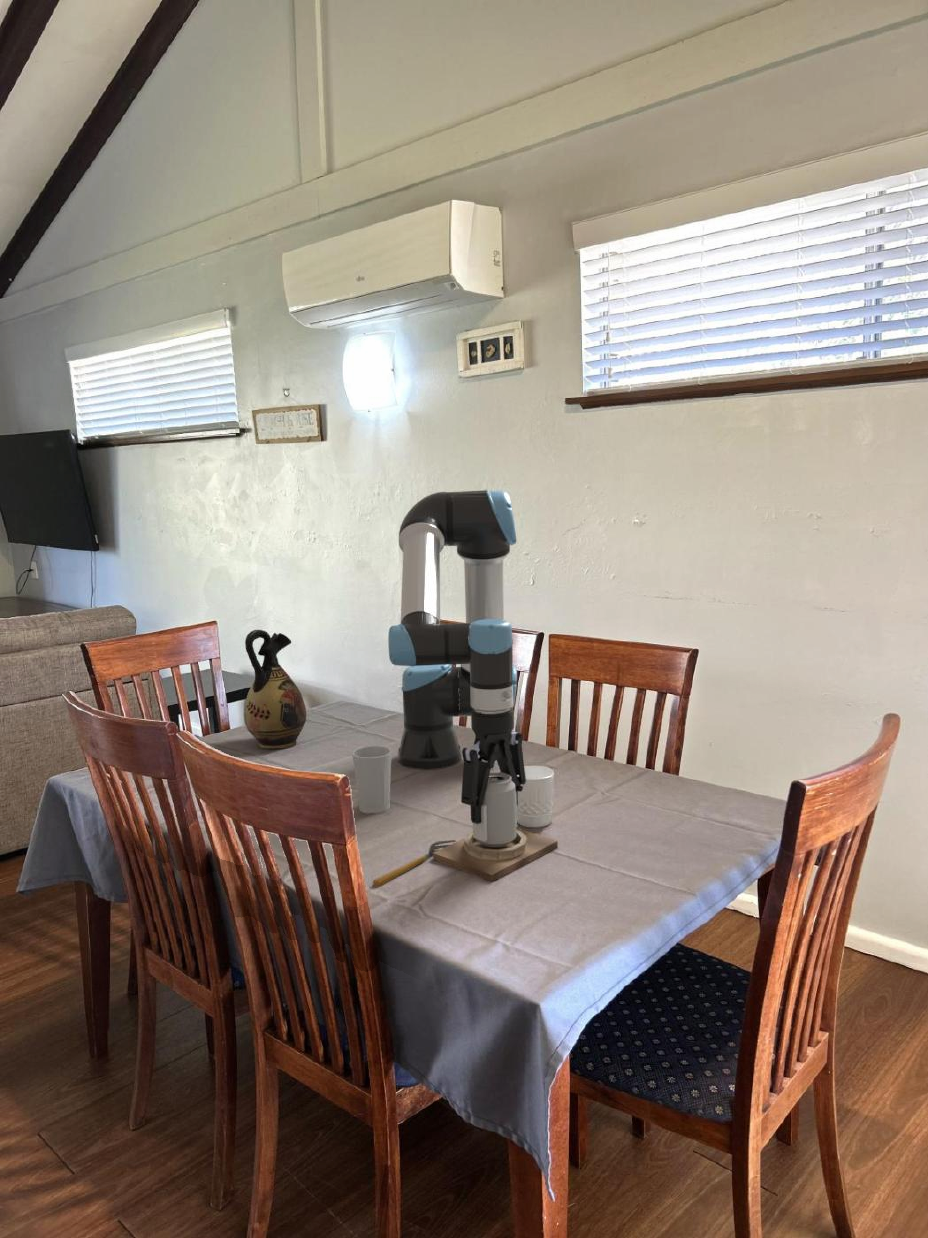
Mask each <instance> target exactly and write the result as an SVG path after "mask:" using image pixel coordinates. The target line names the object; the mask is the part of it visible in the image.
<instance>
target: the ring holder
mask: <svg viewBox="0 0 928 1238" xmlns="http://www.w3.org/2000/svg"><path fill="white" fill-rule="evenodd" d="M558 844H559V843H558V840H555V839H553V838H549V837H546V836H543V835H540V834H537V833H533V832H530V831H528V830H524V829H523V828H522V829H521V828H519V827H516V838H515V839H514V840H513V841H512V842H511V843H510V844H508V845H506V846H502V847H489V846H485V845H483V844H481V843H480V842H479V841H478V840H477V839H476V838H473V831H471V832H469V833H467V834H466V836H465V837H464V838H462V839H459V840H458V841H457V840H456V841H455V842H452V843H451V845H449V846H447V847H444V848H440V850H438V849H437V850H438V851H436V852H434V853H432V858H433V860H435V861H437V862H440V863H442V864H445V865H448V866H451V867H454V868H456V869H458V870H461V871H464V872H465V873H468V874H471V875H474V876H476V877H479V878H482V879H484V880H487V881H490V882H494V881H496V880H499V879H500V878H502V877H504V876H506V875H508V874H510V873H511V872H513V871H515V870H517V869H519V868H521V867H523V866H524V865H527V864H528V863H531V862H532V861H534V860H537V859H538V858H540V857H542V856H544V855H546V854H548V853H549V852H551V851H553V850H555V849H558Z"/></svg>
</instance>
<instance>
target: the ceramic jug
mask: <svg viewBox="0 0 928 1238" xmlns="http://www.w3.org/2000/svg"><path fill="white" fill-rule="evenodd" d="M245 637H246V638H245V640H244V647H245V651H246V653H247V655H248V658H249V661H250V663H251V667H252V668H253V670H254V680H253V683H252V684H251V686H250V689H249V690H248V693H247V696H246V699H245V705H244V710H243V711H244V713H243V715H244V717H243V718H244V724H245V727H246V729H247V731H248V732H249V733H250V735H252V736H253V737H254V739H255V740H256V741H257V742H258V745H259V747H261V748H262V749H285V748H289V747H295V746H296V745H297V744H296V743H298V742H297V739H298V738H299V736H300V734H301V732H302V731H303V728H304V727H305V724H306V721H307V707H306V704H305V701H304V698H303V695H302V692H301V691H300V689H299V687H298V686H297V685H296V683H295V681H294V680H293V679H292V678H291V677H290V675H289V674H288V673H287V671H286V670H285V669H284V668H283V667H282V665H281V664H280V663H279V659H278V656H277V654H278V653H280V651H281V650H283V649H285V648H286V647H288V646H290V644H292V640H291V639H290V638H289V637H288V636H286V635H285V634H283V633H280V632H279V633H278V634H277V633H276V632H274V633H273V634H272V636H271V635H270V634H269V632H267V631H266V630H263V629H254V630H252V631H251V630H250V632H248V634H247V635H246V636H245ZM259 638H261V639H263V643H262V644H261V645H260V648H259V651H258V653H257V655H258V656H261V657H263V661H262V666H261V664H260V662H259V659H258V658H257V655H256V652H255V649H254V642H255V641H256V640H258V639H259ZM261 748H260V749H261Z"/></svg>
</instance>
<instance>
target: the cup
mask: <svg viewBox="0 0 928 1238" xmlns="http://www.w3.org/2000/svg"><path fill="white" fill-rule="evenodd" d="M351 753H352V761H353V769H354V776H355V784H356V792H357V798H358V809H359V812H361V811H362V813H364V814H369V813H375V814H379V813H378V812H381V813H384V812H383V811H385V812H387V811H389V809H390V808H391V801H390V799H391V776H392V775H391V770H392V749H391V748H390V747H388V746H382V745H370V746H369V745H367V746H362V747H359V748H356V749H354V750H353V751H352V752H351Z"/></svg>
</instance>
